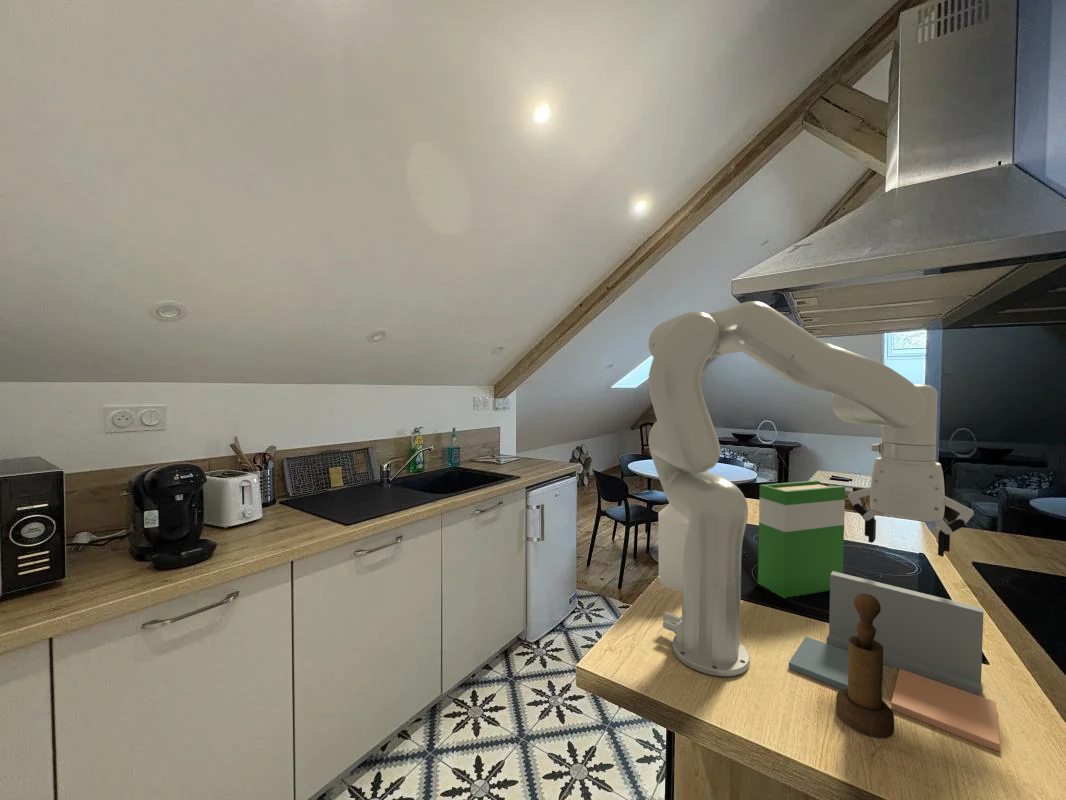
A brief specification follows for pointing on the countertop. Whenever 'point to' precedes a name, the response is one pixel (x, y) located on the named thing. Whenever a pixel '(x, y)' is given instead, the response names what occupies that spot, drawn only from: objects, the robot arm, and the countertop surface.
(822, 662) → the mat bluegrey
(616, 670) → the countertop surface
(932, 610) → the upright grey panel
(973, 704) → the tile terracotta
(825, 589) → the hardback book
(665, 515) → the bottle
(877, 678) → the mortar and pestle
